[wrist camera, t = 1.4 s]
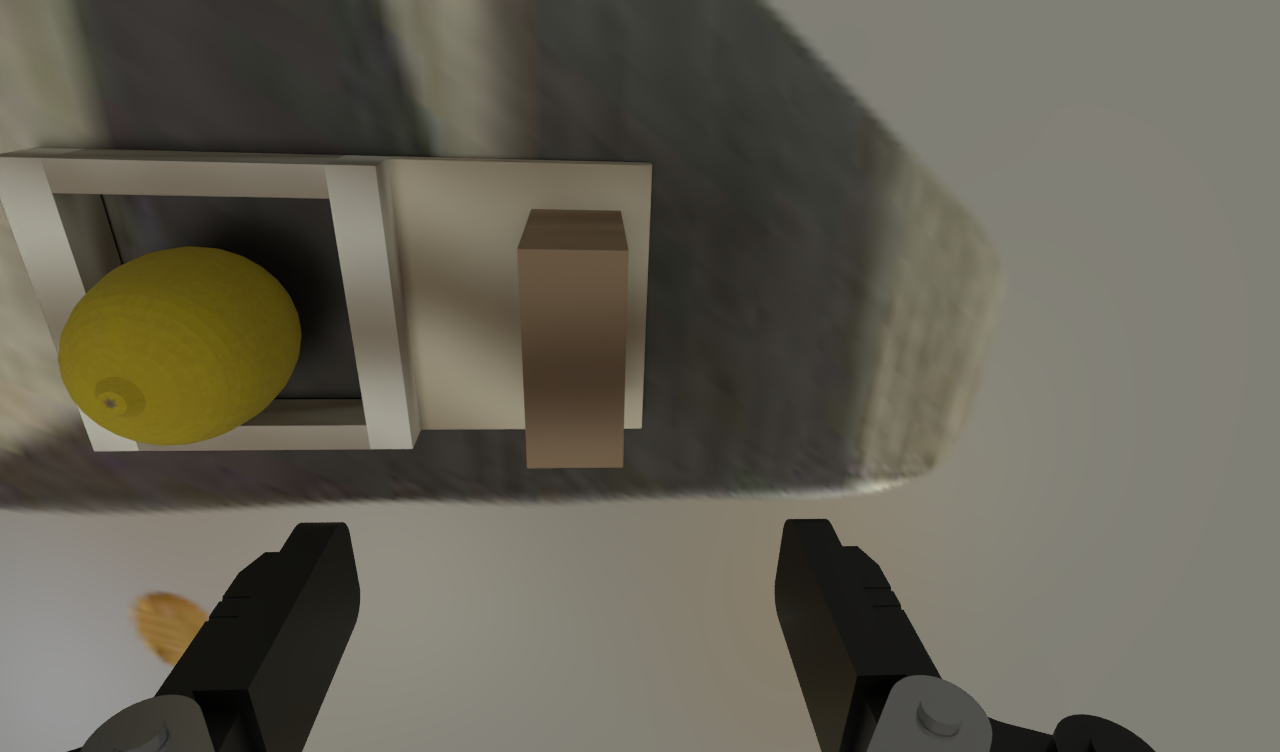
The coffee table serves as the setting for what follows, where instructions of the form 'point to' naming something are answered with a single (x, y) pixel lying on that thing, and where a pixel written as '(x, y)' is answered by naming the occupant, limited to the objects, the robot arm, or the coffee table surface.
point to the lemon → (180, 346)
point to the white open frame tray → (403, 287)
